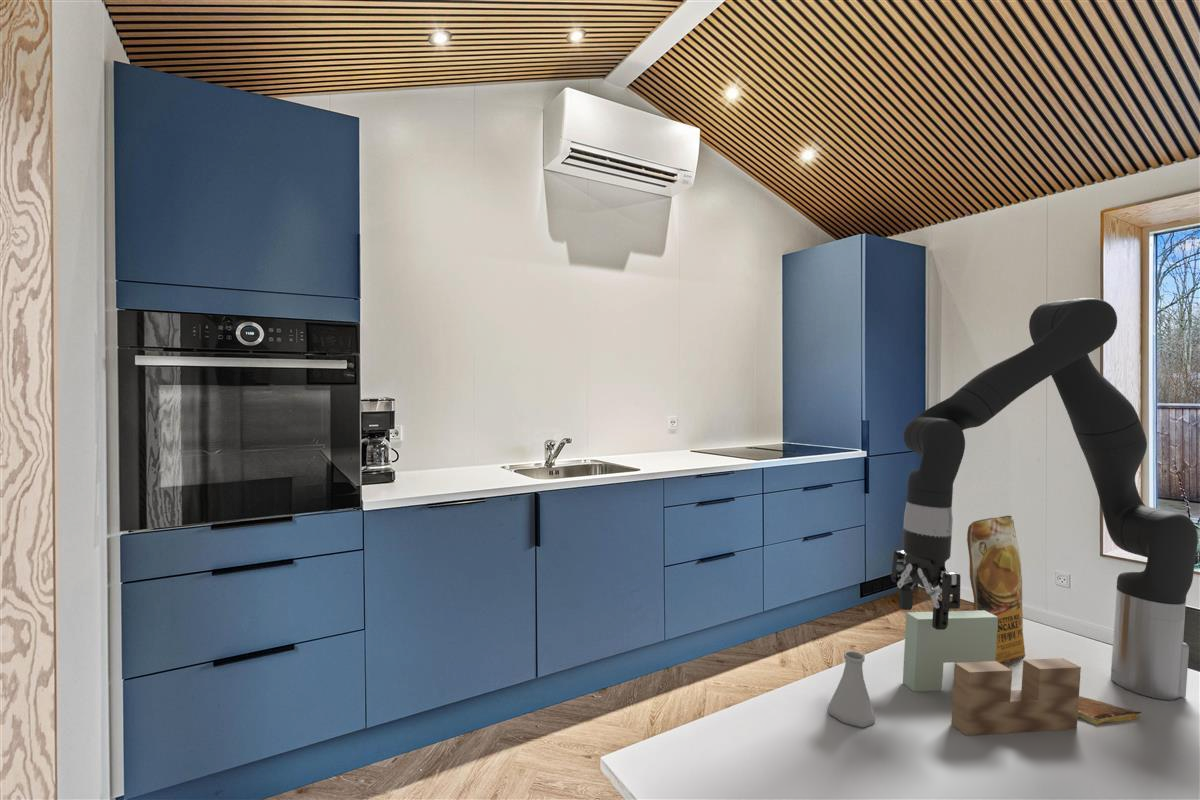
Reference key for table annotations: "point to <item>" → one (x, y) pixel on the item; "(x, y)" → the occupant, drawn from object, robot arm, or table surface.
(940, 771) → the table surface
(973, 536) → the pancake mix bag
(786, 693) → the table surface
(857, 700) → the flask
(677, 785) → the table surface
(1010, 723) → the walnut board
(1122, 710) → the shard
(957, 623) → the sage board
